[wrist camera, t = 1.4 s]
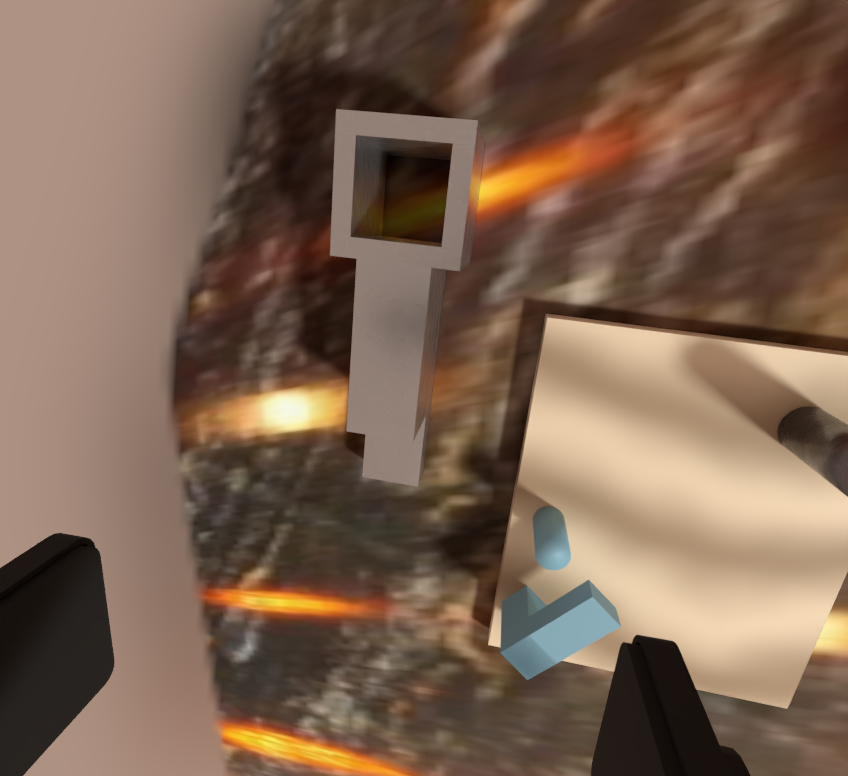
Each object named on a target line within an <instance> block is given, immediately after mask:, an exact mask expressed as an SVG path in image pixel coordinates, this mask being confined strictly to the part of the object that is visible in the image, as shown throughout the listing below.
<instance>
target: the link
mask: <svg viewBox="0 0 848 776" xmlns="http://www.w3.org/2000/svg"><path fill="white" fill-rule="evenodd" d="M484 151H485V141H484V138H483V135H482V132H481V128H480V125H479V122H478V120H466V119H453V118H441V117H428V116H416V115H404V114H391V113H379V112H366V111H354V110H341V109H336V124H335V147H334V171H333V194H332V218H331V241H330V256H338V257H346V258H354V259H357V260H356V277H355V294H354V311H353V328H352V345H351V362H350V379H349V396H348V413H347V430H346V431H348V432H354V433H360V434H365V448H364V462H363V475H362V477H366V478H372V479H378V480H383V481H389V482H394V483H400V484H406V485H411V486H417V487H418V485H419V483H420V480H421V477H422V475H423V470H424V461H425V453H426V444H427V435H428V426H429V418H430V409H431V400H432V391H433V382H434V374H435V365H436V356H437V347H438V339H439V330H440V321H441V312H442V303H443V295H444V286H445V277H446V270H455V271H460V270H462V269H463V268H465V267H466V266H467V265H469V264H470V260H471V253H472V245H473V237H474V229H475V221H476V213H477V206H478V198H479V190H480V182H481V174H482V167H483V159H484ZM388 155H396V156H407V157H418V158H428V159H439V160H450V161H451V165H450V174H449V183H448V192H447V201H446V210H445V219H444V228H443V238H442V243H440V242H431V241H422V240H414V239H405V238H396V237H387V236H382V228H383V214H384V201H385V187H386V173H387V160H388Z"/></svg>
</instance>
